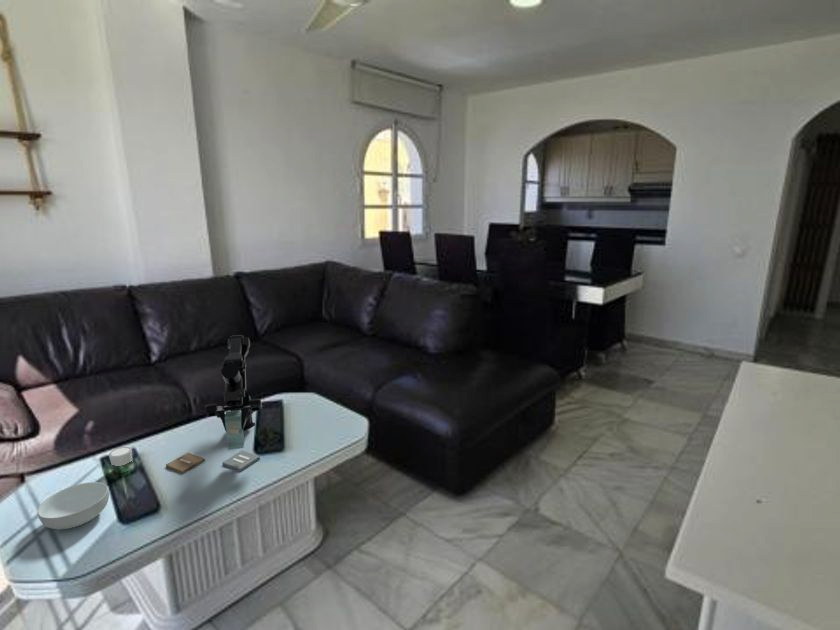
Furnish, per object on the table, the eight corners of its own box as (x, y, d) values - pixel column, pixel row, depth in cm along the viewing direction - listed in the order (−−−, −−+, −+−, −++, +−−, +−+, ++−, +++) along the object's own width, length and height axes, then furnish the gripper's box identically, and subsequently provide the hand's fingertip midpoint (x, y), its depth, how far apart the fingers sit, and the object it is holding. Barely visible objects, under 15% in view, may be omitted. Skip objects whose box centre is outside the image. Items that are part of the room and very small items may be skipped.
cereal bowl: (101, 494, 149) (97, 475, 147) (120, 516, 139) (116, 495, 137) (35, 521, 136) (30, 501, 134) (51, 548, 126) (45, 526, 124)
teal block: (229, 442, 166) (226, 411, 163) (244, 440, 168) (241, 409, 164) (228, 450, 161) (224, 418, 158) (243, 448, 163) (239, 416, 160)
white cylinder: (139, 464, 165) (136, 446, 164) (125, 475, 159) (122, 457, 157) (121, 463, 166) (118, 445, 164) (107, 474, 159) (103, 456, 158)
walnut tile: (188, 454, 171) (188, 452, 171) (205, 460, 167) (204, 457, 167) (166, 467, 163) (165, 464, 163) (183, 473, 160) (182, 470, 159)
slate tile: (242, 452, 173) (241, 449, 172) (259, 458, 169) (259, 455, 168) (222, 464, 165) (222, 461, 164) (240, 471, 161) (240, 468, 161)
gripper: (202, 383, 160) (201, 427, 152) (258, 377, 165) (260, 419, 158) (208, 395, 169) (207, 436, 162) (261, 389, 174) (262, 429, 167)
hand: (234, 430), depth 162 cm, fingers closed on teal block, 5 cm apart
